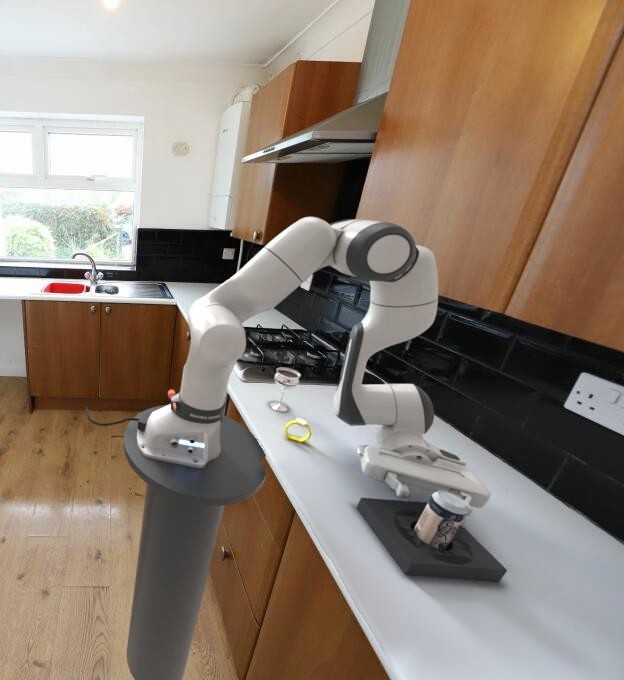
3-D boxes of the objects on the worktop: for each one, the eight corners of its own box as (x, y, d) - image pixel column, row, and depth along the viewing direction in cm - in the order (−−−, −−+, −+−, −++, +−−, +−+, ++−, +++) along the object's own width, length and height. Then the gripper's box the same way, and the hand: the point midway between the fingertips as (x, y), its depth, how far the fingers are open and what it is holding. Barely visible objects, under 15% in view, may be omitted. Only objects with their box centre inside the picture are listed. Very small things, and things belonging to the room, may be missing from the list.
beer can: (433, 562, 63) (462, 513, 58) (403, 540, 67) (428, 492, 62) (447, 552, 65) (476, 504, 60) (417, 531, 69) (442, 485, 64)
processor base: (405, 574, 60) (411, 563, 59) (356, 508, 73) (360, 497, 72) (499, 582, 60) (507, 570, 59) (433, 513, 73) (439, 503, 72)
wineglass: (294, 413, 105) (305, 378, 101) (272, 412, 105) (282, 377, 101) (284, 401, 112) (294, 367, 107) (263, 400, 111) (272, 366, 107)
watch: (283, 439, 94) (288, 420, 91) (283, 433, 96) (288, 415, 94) (307, 446, 91) (314, 427, 89) (307, 440, 94) (313, 421, 91)
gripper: (359, 432, 80) (374, 472, 68) (473, 460, 73) (512, 510, 61) (350, 454, 82) (364, 496, 70) (460, 483, 75) (495, 535, 63)
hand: (434, 503), depth 66 cm, fingers open, 8 cm apart
